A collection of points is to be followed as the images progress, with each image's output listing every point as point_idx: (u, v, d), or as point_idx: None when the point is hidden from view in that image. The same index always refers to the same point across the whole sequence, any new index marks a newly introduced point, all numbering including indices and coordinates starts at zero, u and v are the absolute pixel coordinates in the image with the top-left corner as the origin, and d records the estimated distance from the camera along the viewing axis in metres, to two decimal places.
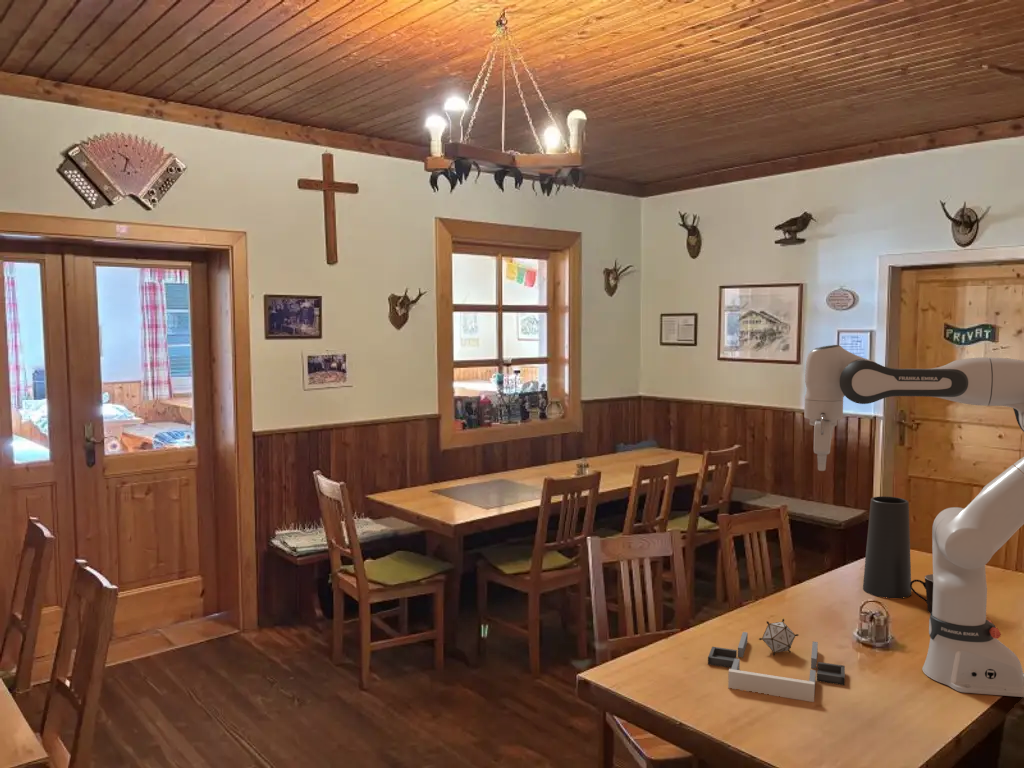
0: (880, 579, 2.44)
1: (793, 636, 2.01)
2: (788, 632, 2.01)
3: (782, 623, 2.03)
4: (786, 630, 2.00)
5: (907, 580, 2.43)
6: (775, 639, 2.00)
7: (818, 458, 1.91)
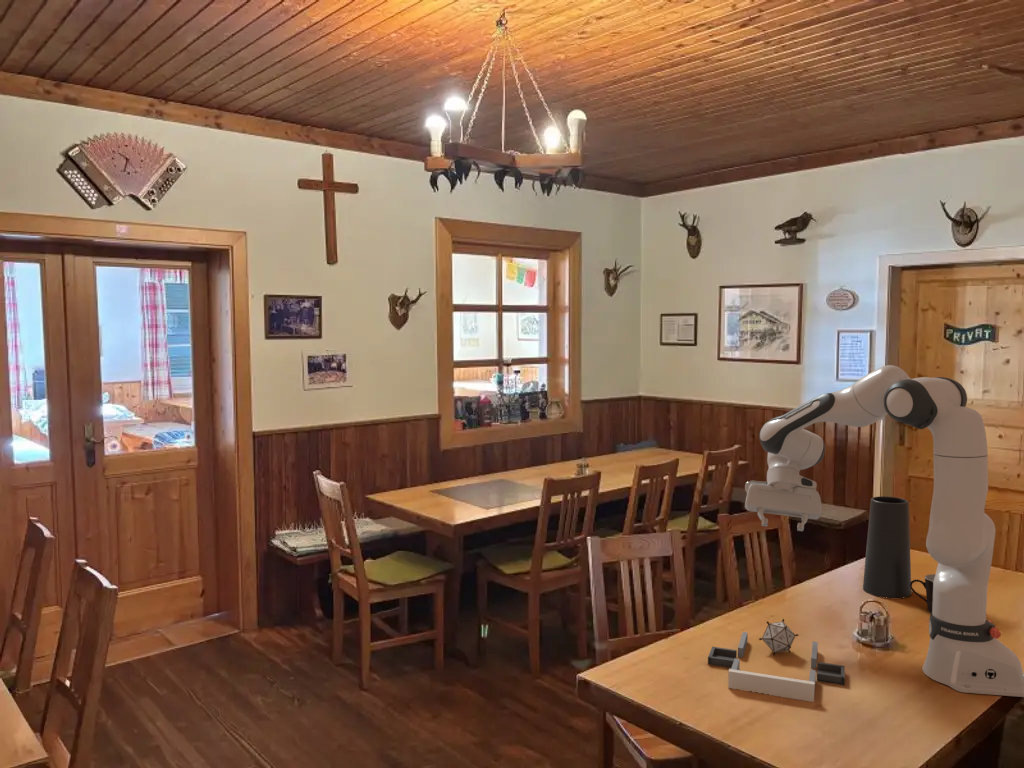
0: (880, 579, 2.44)
1: (793, 636, 2.01)
2: (788, 632, 2.01)
3: (782, 623, 2.03)
4: (786, 630, 2.00)
5: (907, 580, 2.43)
6: (775, 639, 2.00)
7: (758, 515, 2.23)
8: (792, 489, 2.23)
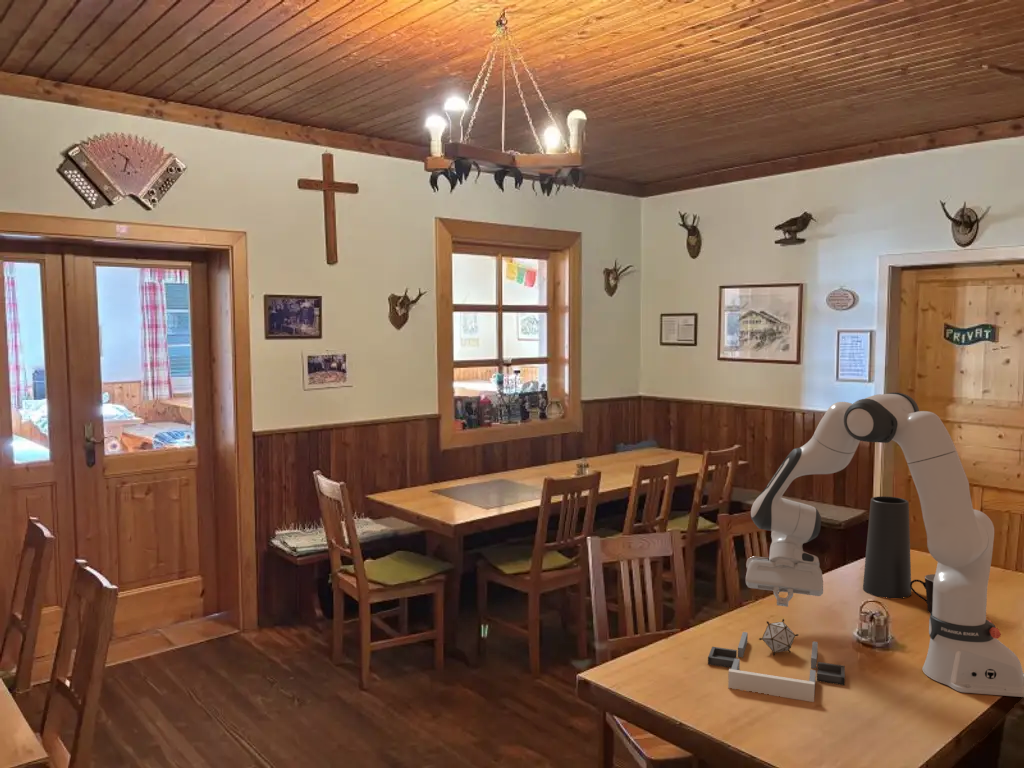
0: (880, 579, 2.44)
1: (793, 636, 2.01)
2: (788, 632, 2.01)
3: (782, 623, 2.03)
4: (786, 630, 2.00)
5: (907, 580, 2.43)
6: (775, 639, 2.00)
7: (774, 594, 2.18)
8: (793, 565, 2.19)
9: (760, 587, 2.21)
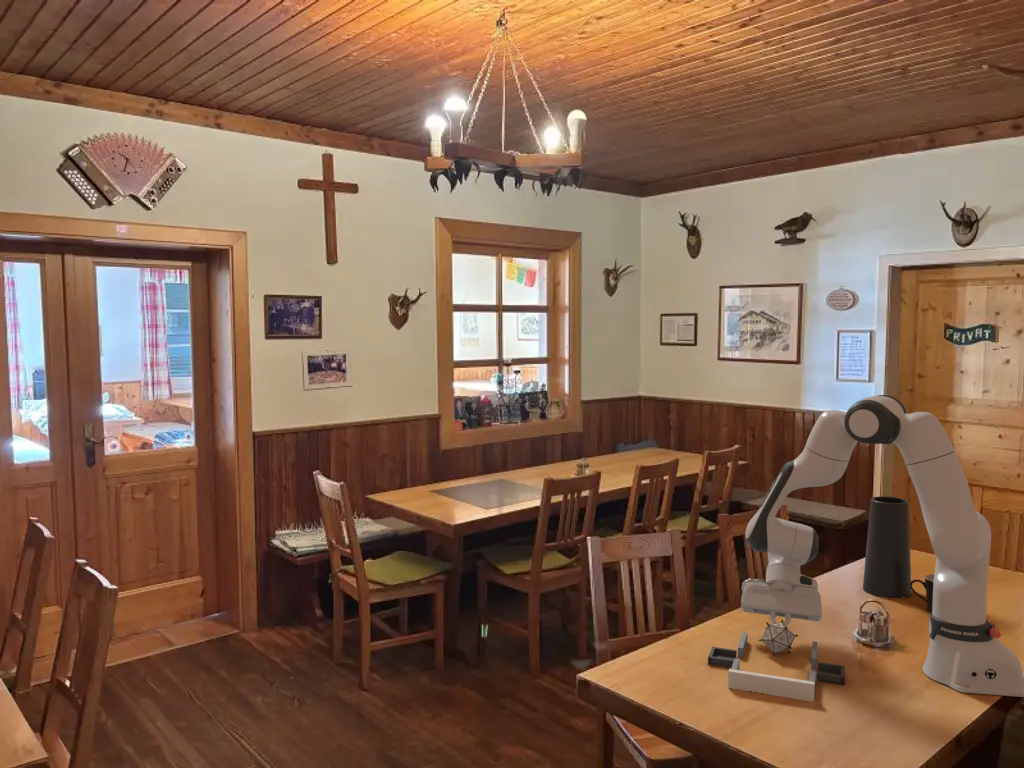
0: (880, 579, 2.44)
1: (793, 637, 2.01)
2: (788, 633, 2.00)
3: (781, 624, 2.03)
4: (786, 631, 2.00)
5: (907, 580, 2.43)
6: (775, 640, 1.99)
7: (770, 619, 2.09)
8: (790, 588, 2.10)
9: (756, 611, 2.12)
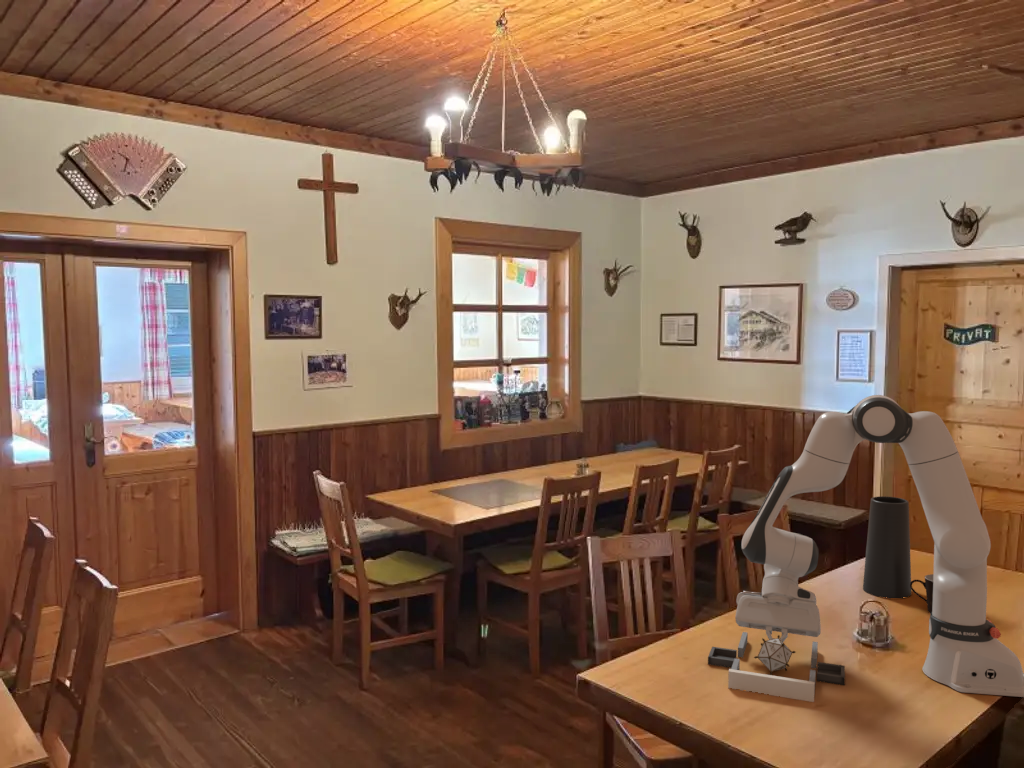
0: (880, 579, 2.44)
1: (790, 653, 1.91)
2: (786, 650, 1.90)
3: (778, 640, 1.92)
4: (783, 647, 1.90)
5: (907, 580, 2.43)
6: (772, 658, 1.89)
7: (766, 634, 1.99)
8: (787, 602, 2.00)
9: (751, 626, 2.02)
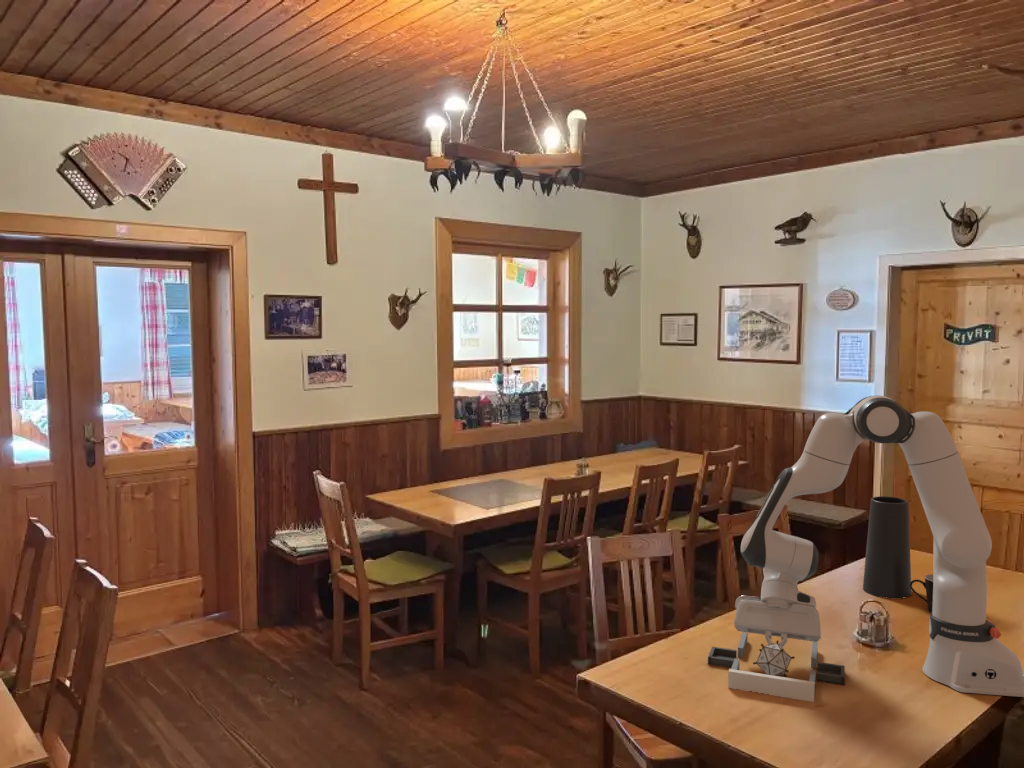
0: (880, 579, 2.44)
1: (789, 659, 1.88)
2: (785, 655, 1.87)
3: (777, 645, 1.89)
4: (783, 653, 1.86)
5: (907, 580, 2.43)
6: (771, 663, 1.86)
7: (766, 639, 1.96)
8: (787, 606, 1.97)
9: (750, 631, 1.99)
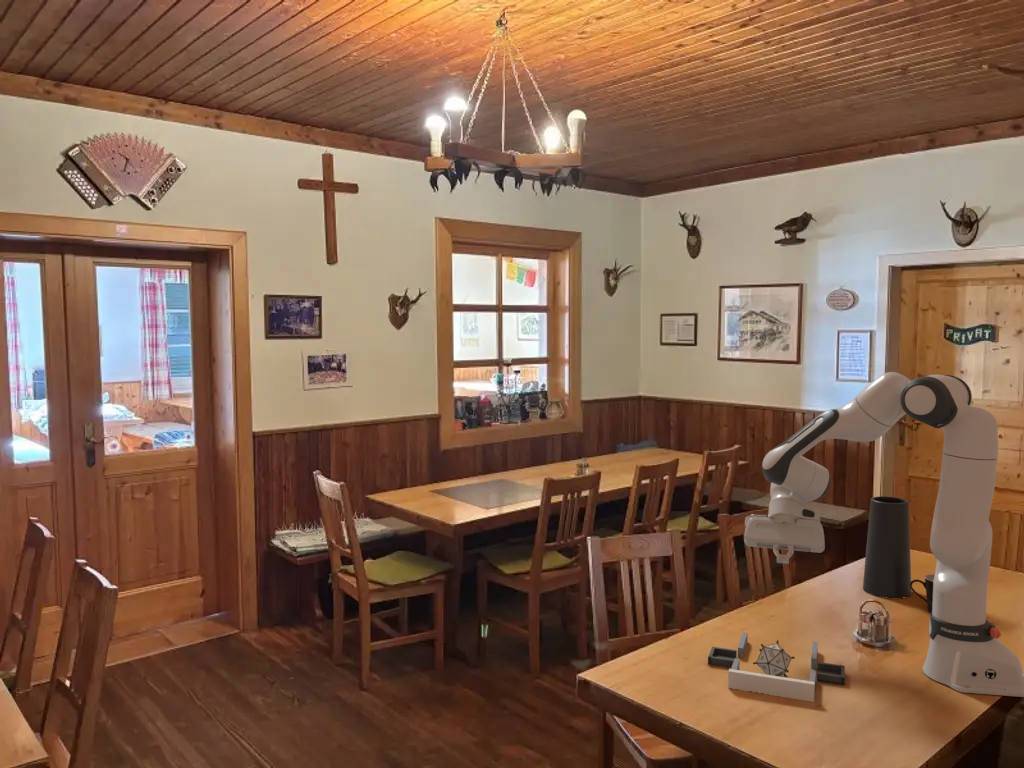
0: (880, 579, 2.44)
1: (789, 659, 1.88)
2: (785, 655, 1.87)
3: (777, 645, 1.89)
4: (783, 653, 1.86)
5: (907, 580, 2.43)
6: (771, 663, 1.86)
7: (774, 552, 2.11)
8: (793, 521, 2.12)
9: (759, 545, 2.14)
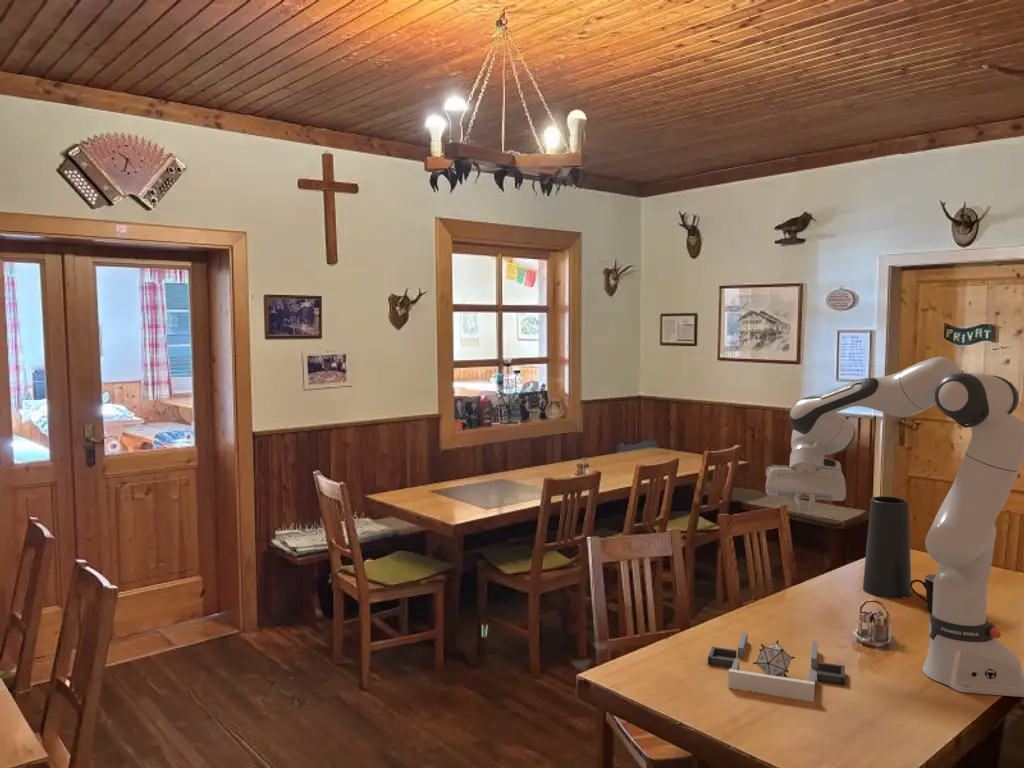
0: (880, 579, 2.44)
1: (789, 659, 1.88)
2: (785, 655, 1.87)
3: (777, 645, 1.89)
4: (783, 653, 1.86)
5: (907, 580, 2.43)
6: (771, 663, 1.86)
7: (795, 501, 2.14)
8: (814, 471, 2.15)
9: (781, 494, 2.16)
